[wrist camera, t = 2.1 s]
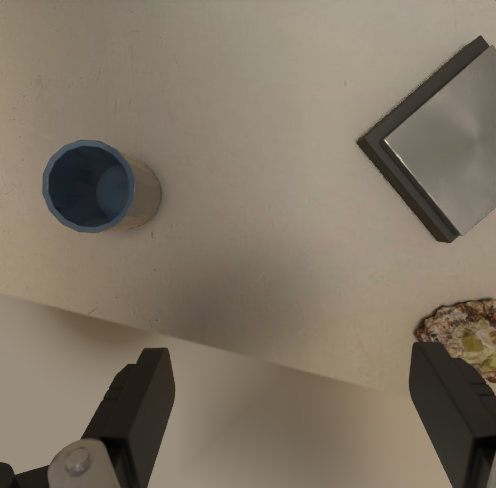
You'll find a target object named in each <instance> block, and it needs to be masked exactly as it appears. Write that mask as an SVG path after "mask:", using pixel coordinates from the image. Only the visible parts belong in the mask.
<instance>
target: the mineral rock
mask: <svg viewBox="0 0 496 488" xmlns="http://www.w3.org/2000/svg"><path fill="white" fill-rule="evenodd" d="M424 324H425V325H426V326H425V327H423V328H419V329H418V330H417V337H418V338H419V340H421V341H423V342H435V341H439V342H441V343H442V344H443V345H444V347H445V348H446V350H447V351H448V352H449V354H450V355H451V357H452V358H462V359H463V360H465V361H466V362H467V363H469V364H470V365H472V366H473V367H474V368H476V369H477V371H478V372H479V373H480V375H481V376H482V377H483V379H484V378H486V379H487V380H488V381H489V382H492V383H496V299H492V300H490V301H482V302H477V301H474V302H473V301H471V302H467V303H466V304H465V303H461V304H459V305H457V306H453V307H449V306H446V307H443V308H441V309H440V310H437V313H436V315H435V317H430V318H429V319H425V323H424Z"/></svg>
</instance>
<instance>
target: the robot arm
mask: <svg viewBox="0 0 496 488" xmlns="http://www.w3.org/2000/svg"><path fill="white" fill-rule="evenodd" d="M409 390H410V395H411V398H412V401H413V403H414V405H415V408H416V410H417V412H418V414H419V416H420V418H421V420H422V423H423V425H424V427H425V429H426V431H427V433H428V435H429V437H430V439H431V441H432V444H433V446H434V448H435V450H436V453H437V454H438V457H439V459H440V461H441V463H442V465H443V468H444V470H445V472H446V474H447V476H448V478H449V480H450V483H451V484H452V487H453V488H496V396H495V395H494V392H493V391H492V389H491V388H490V387H489V385H487V384H486V381H485V380H484V379H483V377H482V376H481V375H480V373H479V372H478V371H477V369H476V368H474V367H473V366H472V365H470V364H469V363H467V362H466V361H465V360H463V359H462V358H452V357H451V355H450V354H449V352H448V351H447V350H446V348H445V347H444V345H443V344H442V343H441V342H439V341H435V342H414V344H413V347H412V356H411V365H410V374H409ZM174 398H175V382H174V377H173V371H172V365H171V360H170V355H169V351H168V349H167V348H145V349H143V351H142V353H141V355H140V357H139V359H138V361H137V363H136V364H128V365H127V366H125V367H124V368H123V369H122V370H121V371H120V372H119V373H118V374H117V375H116V376H115V378H114V380H113V382H112V383H111V385H110V387H109V390H108V391H107V392H106V394H105V396H104V399H103V401H102V402H101V403H100V405H99V407H98V409H97V410H96V412H95V414H94V416H93V418H92V419H91V422H90V423H89V425H88V427H87V428H86V430H85V432H84V434H83V436H82V437H81V439H80V440H78V441H75V442H73V443H71V444H70V445H68V446H66V447H65V448H63V449H62V450H61V451H60V452H59V453H58V454H57V455H56V456H55V457H54V459H53V460H52V462H51V463H50V465H47V466H44V467H41V468H37V469H34V470H30V471H27V472H23V473H20V474H17V475H15V474H14V471H13V469H12V467H11V466H10V465H9V464H6V463H2V462H0V488H147V486H148V483H149V479H150V476H151V473H152V470H153V467H154V464H155V461H156V457H157V454H158V451H159V448H160V445H161V441H162V438H163V435H164V432H165V429H166V426H167V423H168V419H169V416H170V413H171V410H172V407H173V403H174Z"/></svg>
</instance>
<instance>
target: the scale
mask: <svg viewBox="0 0 496 488" xmlns="http://www.w3.org/2000/svg"><path fill="white" fill-rule="evenodd" d="M357 144H358V145H359V146H360V147H361V148H362V150H363V151H364V152H365V153H366V154H367V156H368V157H369V158H370V159H371V161H372V162H373V163H374V164H375V165H376V167H377V168H378V169H379V170H380V171H381V173H382V174H383V175H384V176H385V177H386V179H387V180H388V181H389V182H390V184H391V185H392V186H393V187H394V188H395V190H396V191H397V192H398V193H399V194H400V196H401V197H402V198H403V199H404V200H405V202H406V203H407V204H408V205H409V207H410V208H411V209H412V210H413V211H414V213H415V214H416V215H417V216H418V217H419V219H420V220H421V221H422V222H423V224H424V225H425V226H426V227H427V228H428V230H429V231H430V232H431V233H432V234H433V236H434V237H435V238H436V239H437V240H438V241H439V242H447V243H451V242H452V241H453V240H454V239H456V238H457V237H458V236H463V235H464V234H466V233H467V232H468V231H469V230H470V229H471V228H472V227H474V226H475V225H476V224H477V223H478V222H479V221H481V220H482V219H483V218H484V217H485V216H486V215H488V214H489V213H490V212H491V211H492V210H493V209H495V208H496V49H495V48H494V46H493V45H491V46H489V45H488V44H487V42H486V41H485V40H484V39H483V37H482V36H481V35H480V36H479V37H477V38H476V39H475V40H473V41H472V42H471V43H469V44H468V45H466V46H465V47H464V48H463V49H462V50H461V51H460V52H458V53H457V54H456V55H455V56H454V57H453V58H452V59H450V60H449V61H448V62H447V63H446V64H445V65H444V66H442V67H441V68H440V69H439V70H438V71H437V72H436V73H435V74H433V75H432V76H431V77H430V78H429V79H428V80H427V81H425V82H424V83H423V84H422V85H421V86H420V87H419V88H417V89H416V90H415V91H414V92H413V93H412V94H411V95H409V96H408V97H407V98H406V99H405V100H404V101H403V102H402V103H400V104H399V105H398V106H397V107H396V108H395V109H394V110H392V111H391V112H390V113H389V114H388V115H387V116H386V117H384V118H383V119H382V120H381V121H380V122H379V123H378V124H376V125H375V126H374V127H373V128H372V129H371V130H370V131H369V132H367V133H366V134H365V135H364V136H363V137H362V138H361V139H359V140H358V141H357Z"/></svg>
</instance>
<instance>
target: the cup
mask: <svg viewBox="0 0 496 488" xmlns="http://www.w3.org/2000/svg"><path fill="white" fill-rule="evenodd" d="M42 192H43V196H44V198H45V201H46V203H47V206H48V209H49V210H50V212H51V213H52V214H53V215H54V216H55V217H56V218H57V219H58V220H59V221H60V222H61V223H62V224H63V225H65V226H67V227H69V228H71V229H74V230H76V231H78V232H88V233H100V232H107V231H115V230H122V229H130V228H134V227H138V226H141V225H143V224H145V223H147V222H148V221H150V220H151V219H152V218H153V217H154V216H155V214H156V213H157V211H158V209H159V207H160V204H161V199H162V191H161V186H160V183H159V180H158V178H157V177H156V175H155V174H154V173H153V171H152V170H151V169H150V168H148V167H147V166H146V165H144V164H142V163H141V162H139V161H137V160H135V159H133V158H131V157H130V156H128V155H126V154H124V153H122V152H120V151H119V150H117V149H115V148H113V147H111V146H109V145H107V144H105V143H103V142H100V141H91V140H79V141H77V142H74V143H71V144H68V145H65V146H63V147H62V148H61V149H60V150H59V151H58V152H57V153H55V154H54V155H53V156H52V157H51V158H50V160H49V162H48V164H47V167H46V169H45V171H44V173H43V191H42Z"/></svg>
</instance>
